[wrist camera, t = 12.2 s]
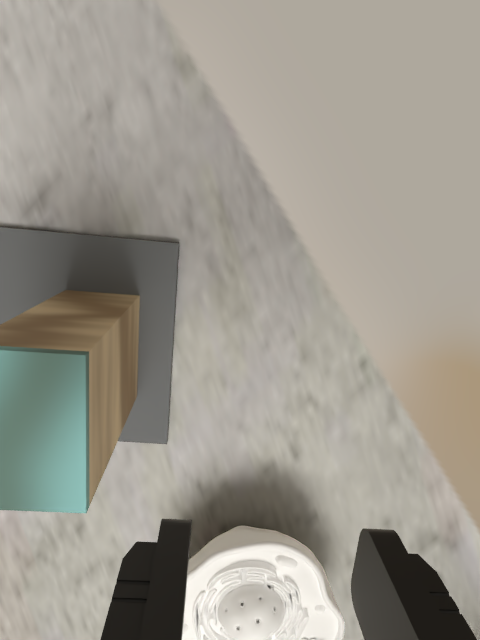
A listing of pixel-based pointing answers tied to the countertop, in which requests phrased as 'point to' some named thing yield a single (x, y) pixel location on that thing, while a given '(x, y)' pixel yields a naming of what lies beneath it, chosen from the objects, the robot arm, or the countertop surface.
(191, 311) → the countertop surface
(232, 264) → the countertop surface
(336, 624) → the cell model
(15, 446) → the block
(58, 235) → the mat
